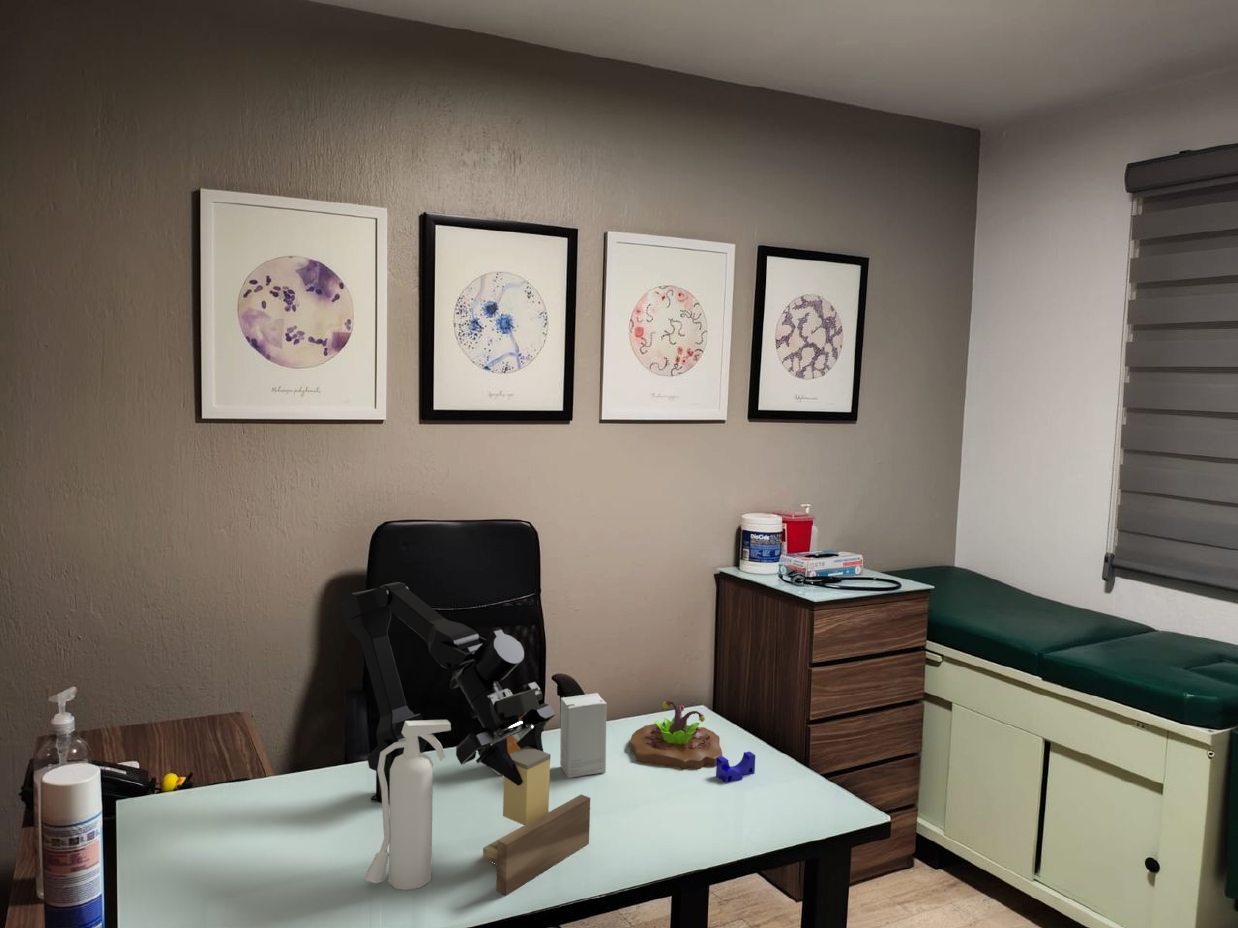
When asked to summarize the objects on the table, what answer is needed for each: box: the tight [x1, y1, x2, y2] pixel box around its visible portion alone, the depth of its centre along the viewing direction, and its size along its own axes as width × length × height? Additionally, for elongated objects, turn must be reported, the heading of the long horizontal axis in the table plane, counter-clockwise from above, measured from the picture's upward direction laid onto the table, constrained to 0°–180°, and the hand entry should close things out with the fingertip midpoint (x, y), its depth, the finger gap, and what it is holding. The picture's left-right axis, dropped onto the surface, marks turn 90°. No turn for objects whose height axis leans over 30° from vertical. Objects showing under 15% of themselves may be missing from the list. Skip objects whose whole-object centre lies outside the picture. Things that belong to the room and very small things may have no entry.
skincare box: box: [559, 692, 608, 779], centre depth 175 cm, size 8×6×15 cm
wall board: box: [482, 793, 591, 896], centre depth 142 cm, size 10×20×8 cm, turn 143°
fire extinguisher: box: [364, 719, 452, 891], centre depth 134 cm, size 7×12×25 cm, turn 116°
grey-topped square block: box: [502, 746, 551, 826], centre depth 142 cm, size 5×6×10 cm
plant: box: [629, 700, 723, 771], centre depth 187 cm, size 20×20×11 cm
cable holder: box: [715, 750, 756, 784], centre depth 175 cm, size 8×4×4 cm, turn 116°
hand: (533, 777), depth 141 cm, fingers closed on grey-topped square block, 5 cm apart
